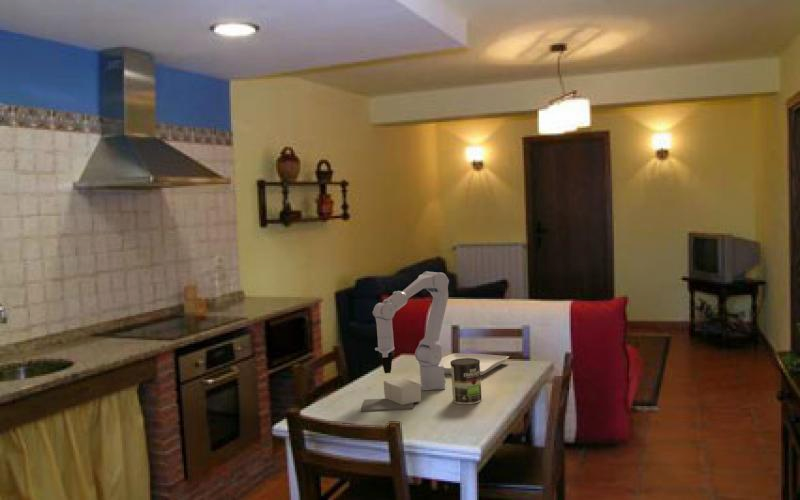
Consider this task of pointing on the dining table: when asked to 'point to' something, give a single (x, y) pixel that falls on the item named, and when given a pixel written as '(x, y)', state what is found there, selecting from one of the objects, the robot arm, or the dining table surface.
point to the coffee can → (466, 381)
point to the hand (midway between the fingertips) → (387, 372)
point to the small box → (402, 391)
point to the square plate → (485, 360)
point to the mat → (383, 405)
